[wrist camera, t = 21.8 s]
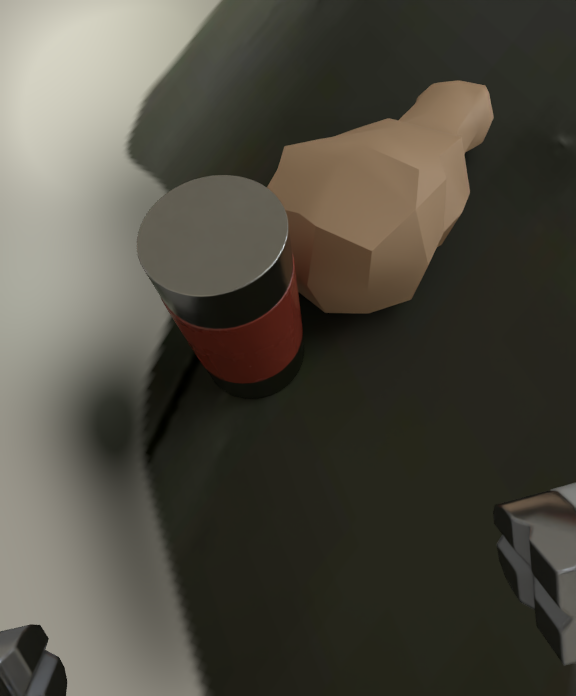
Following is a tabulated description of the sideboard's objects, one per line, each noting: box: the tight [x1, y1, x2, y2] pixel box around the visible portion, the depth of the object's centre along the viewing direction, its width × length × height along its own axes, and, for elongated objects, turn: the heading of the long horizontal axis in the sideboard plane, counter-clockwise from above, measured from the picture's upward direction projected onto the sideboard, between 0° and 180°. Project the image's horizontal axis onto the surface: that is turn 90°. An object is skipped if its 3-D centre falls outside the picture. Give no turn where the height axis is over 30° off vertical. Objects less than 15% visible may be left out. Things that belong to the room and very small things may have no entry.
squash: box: [267, 81, 493, 313], centre depth 28 cm, size 11×20×9 cm, turn 147°
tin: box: [137, 175, 304, 399], centre depth 23 cm, size 6×6×11 cm
